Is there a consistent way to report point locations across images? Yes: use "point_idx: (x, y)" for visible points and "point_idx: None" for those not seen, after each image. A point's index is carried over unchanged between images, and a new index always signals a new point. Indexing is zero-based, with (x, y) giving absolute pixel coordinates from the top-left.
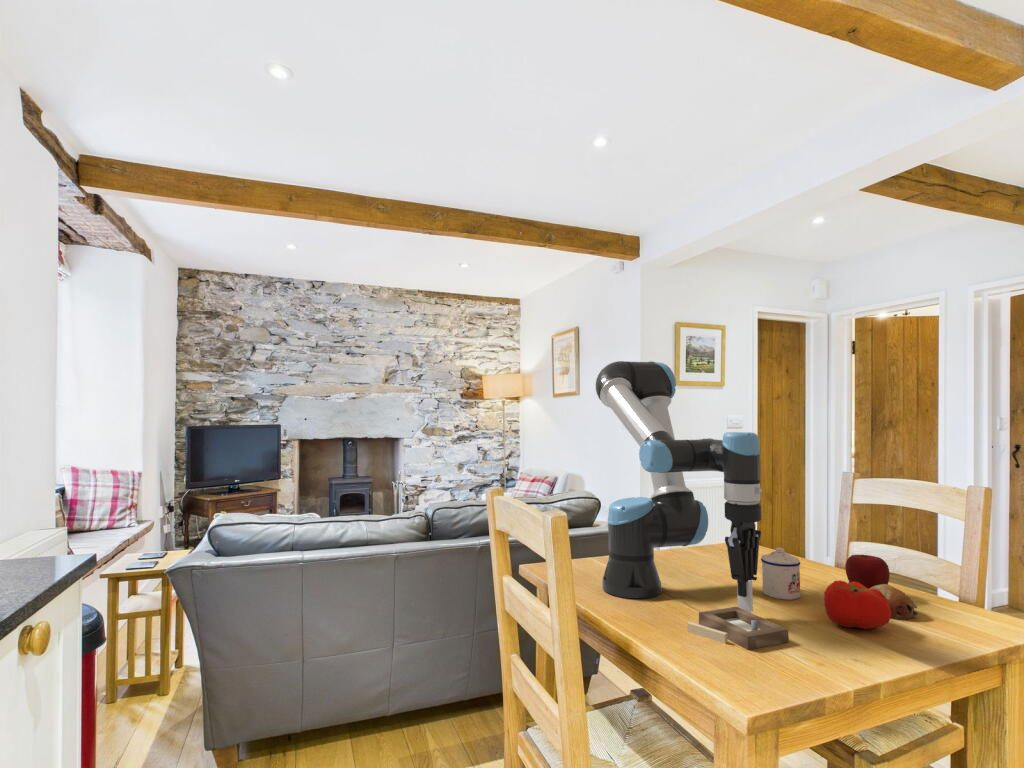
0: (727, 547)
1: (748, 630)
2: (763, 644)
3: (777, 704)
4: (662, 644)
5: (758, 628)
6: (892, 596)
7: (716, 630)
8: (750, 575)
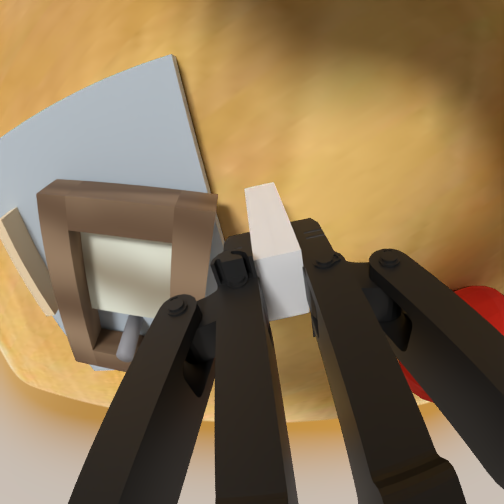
0: None
1: (134, 310)
2: None
3: (59, 392)
4: None
5: None
6: None
7: (37, 294)
8: (314, 328)
